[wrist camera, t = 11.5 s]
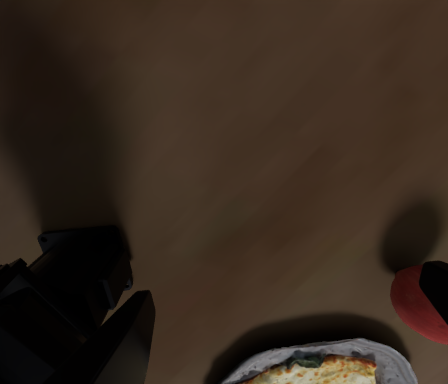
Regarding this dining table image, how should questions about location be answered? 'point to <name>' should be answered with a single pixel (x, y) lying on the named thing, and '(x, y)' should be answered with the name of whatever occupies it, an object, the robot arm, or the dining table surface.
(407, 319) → the onion
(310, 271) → the dining table surface
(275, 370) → the food plate
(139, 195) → the dining table surface
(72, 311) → the robot arm
